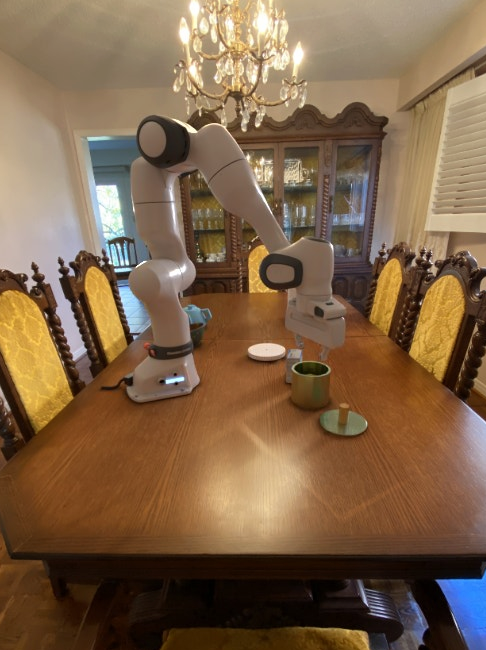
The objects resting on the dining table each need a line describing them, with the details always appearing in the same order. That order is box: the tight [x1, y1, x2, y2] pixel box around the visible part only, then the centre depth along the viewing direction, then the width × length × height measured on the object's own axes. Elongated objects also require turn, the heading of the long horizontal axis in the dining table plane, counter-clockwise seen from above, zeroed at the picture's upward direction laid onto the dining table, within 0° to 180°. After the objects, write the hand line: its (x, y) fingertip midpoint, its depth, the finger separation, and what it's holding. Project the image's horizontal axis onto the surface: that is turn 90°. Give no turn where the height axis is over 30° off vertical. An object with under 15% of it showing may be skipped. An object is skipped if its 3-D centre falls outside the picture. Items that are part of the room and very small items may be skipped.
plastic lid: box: [247, 342, 286, 362], centre depth 130 cm, size 14×14×2 cm
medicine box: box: [285, 348, 303, 384], centre depth 110 cm, size 8×4×9 cm, turn 168°
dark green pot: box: [151, 323, 205, 349], centre depth 139 cm, size 13×20×10 cm, turn 99°
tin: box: [290, 360, 332, 410], centre depth 96 cm, size 10×10×10 cm
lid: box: [319, 402, 368, 438], centre depth 85 cm, size 11×11×6 cm
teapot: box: [182, 304, 213, 327], centre depth 164 cm, size 15×15×11 cm
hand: (310, 353), depth 93 cm, fingers open, 8 cm apart
